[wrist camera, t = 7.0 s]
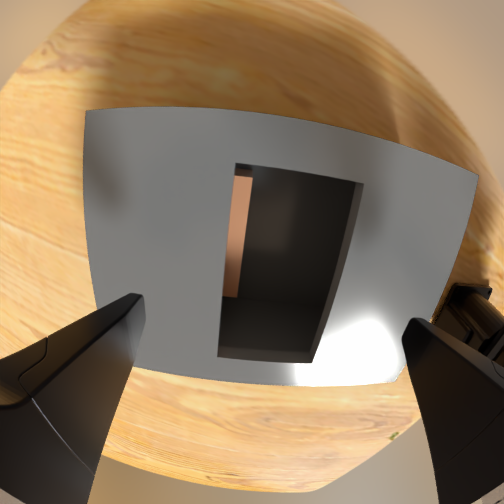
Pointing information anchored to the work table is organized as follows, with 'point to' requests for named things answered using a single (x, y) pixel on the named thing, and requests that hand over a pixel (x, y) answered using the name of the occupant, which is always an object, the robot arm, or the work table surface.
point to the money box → (268, 242)
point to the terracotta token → (237, 230)
